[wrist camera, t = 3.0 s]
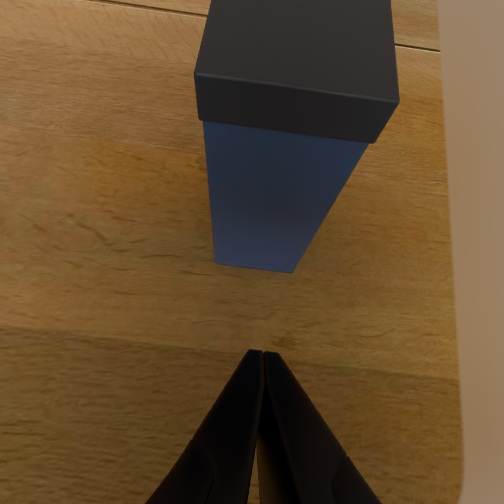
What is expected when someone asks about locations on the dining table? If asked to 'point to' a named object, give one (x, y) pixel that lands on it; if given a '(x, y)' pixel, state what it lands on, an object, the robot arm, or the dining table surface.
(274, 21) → the blue capped box
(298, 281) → the dining table surface
